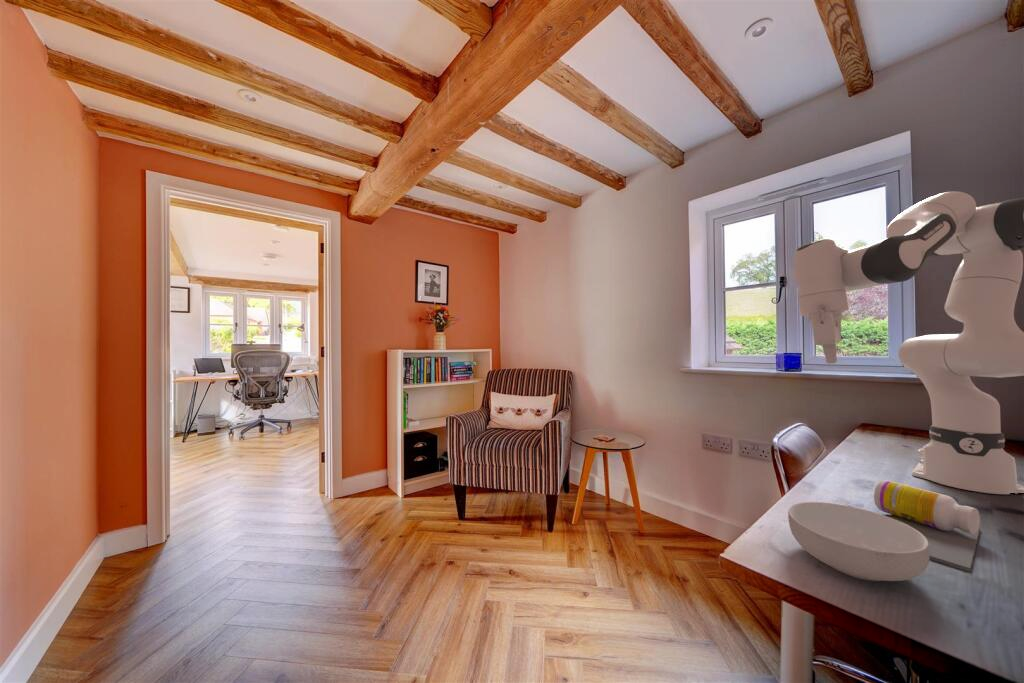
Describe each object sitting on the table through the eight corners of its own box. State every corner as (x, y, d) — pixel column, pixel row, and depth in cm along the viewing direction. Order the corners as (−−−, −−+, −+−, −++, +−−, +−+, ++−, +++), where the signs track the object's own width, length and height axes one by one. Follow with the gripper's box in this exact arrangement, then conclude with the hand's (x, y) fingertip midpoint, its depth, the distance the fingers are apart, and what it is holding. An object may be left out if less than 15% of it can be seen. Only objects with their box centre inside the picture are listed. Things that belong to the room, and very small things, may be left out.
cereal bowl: (790, 529, 71) (789, 493, 71) (916, 560, 60) (914, 518, 60) (786, 571, 57) (786, 526, 58) (946, 621, 47) (945, 566, 47)
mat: (897, 509, 78) (897, 507, 78) (979, 530, 69) (979, 527, 69) (873, 541, 66) (873, 538, 66) (970, 571, 57) (970, 568, 57)
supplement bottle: (870, 508, 76) (964, 537, 64) (874, 476, 76) (968, 499, 64) (887, 512, 78) (980, 541, 66) (891, 481, 79) (984, 505, 67)
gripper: (837, 300, 77) (848, 364, 76) (842, 306, 92) (851, 360, 91) (800, 306, 82) (809, 366, 81) (811, 310, 96) (818, 361, 95)
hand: (831, 363), depth 86 cm, fingers closed
